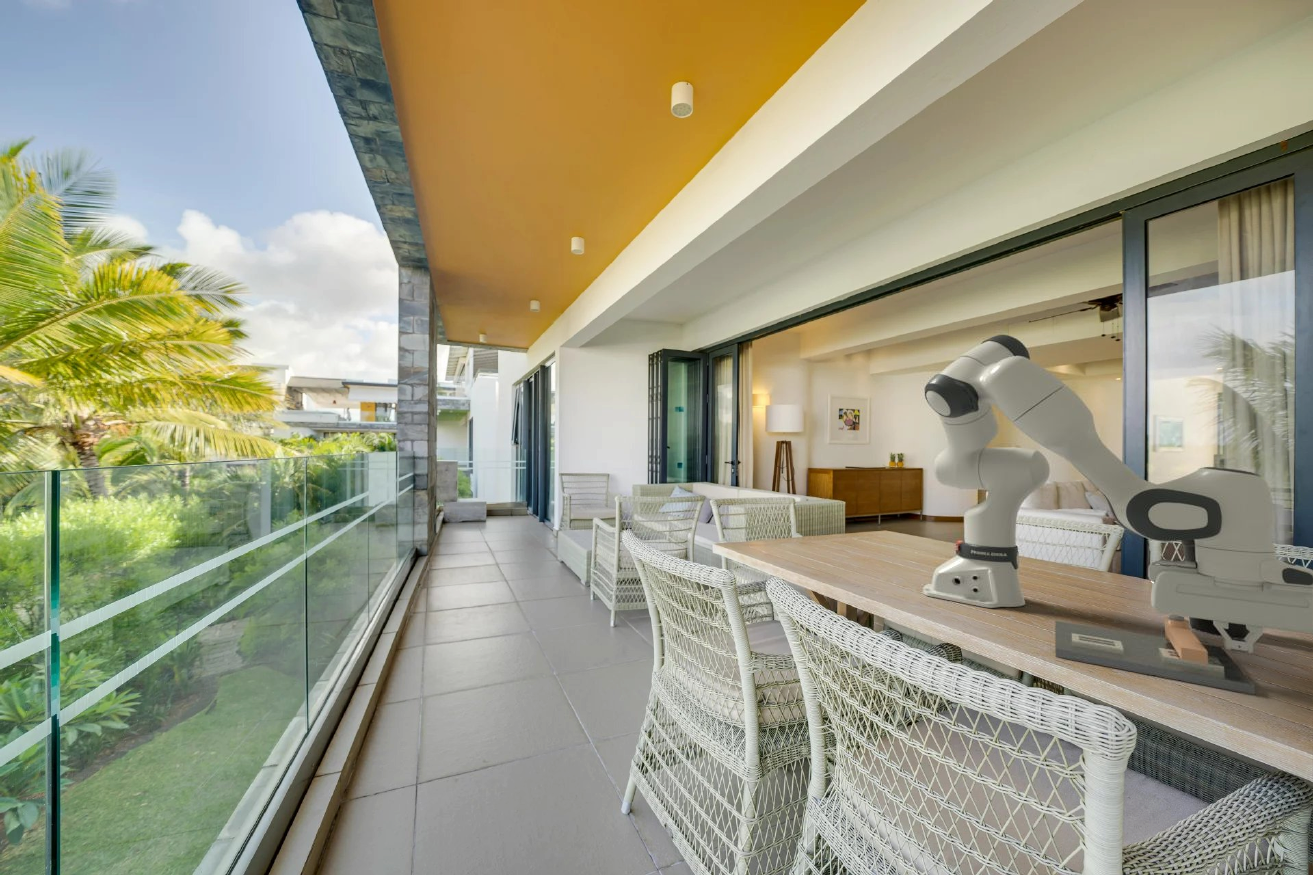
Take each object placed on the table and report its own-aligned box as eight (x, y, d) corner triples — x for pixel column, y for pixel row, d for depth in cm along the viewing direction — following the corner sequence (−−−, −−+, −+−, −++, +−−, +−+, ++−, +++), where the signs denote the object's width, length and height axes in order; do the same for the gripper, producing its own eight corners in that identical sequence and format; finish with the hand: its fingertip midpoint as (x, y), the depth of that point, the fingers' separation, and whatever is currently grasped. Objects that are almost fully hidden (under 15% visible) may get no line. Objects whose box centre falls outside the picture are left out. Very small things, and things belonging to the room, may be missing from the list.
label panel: (1055, 656, 92) (1055, 642, 92) (1055, 627, 108) (1055, 615, 108) (1254, 694, 78) (1253, 677, 78) (1221, 654, 93) (1220, 640, 93)
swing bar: (1164, 637, 97) (1163, 612, 97) (1188, 641, 95) (1187, 615, 95) (1181, 666, 84) (1179, 636, 84) (1209, 671, 82) (1207, 641, 82)
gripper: (1149, 560, 88) (1152, 641, 87) (1341, 578, 75) (1346, 673, 74) (1145, 555, 93) (1148, 631, 92) (1324, 571, 80) (1329, 660, 79)
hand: (1238, 650), depth 83 cm, fingers closed
